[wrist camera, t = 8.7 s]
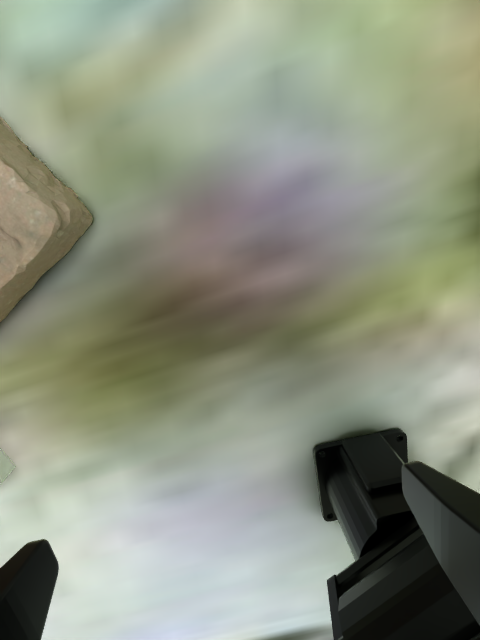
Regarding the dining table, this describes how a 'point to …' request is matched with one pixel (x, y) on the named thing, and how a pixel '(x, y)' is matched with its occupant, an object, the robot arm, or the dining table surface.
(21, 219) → the brick
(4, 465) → the grey block
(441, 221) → the dining table surface
